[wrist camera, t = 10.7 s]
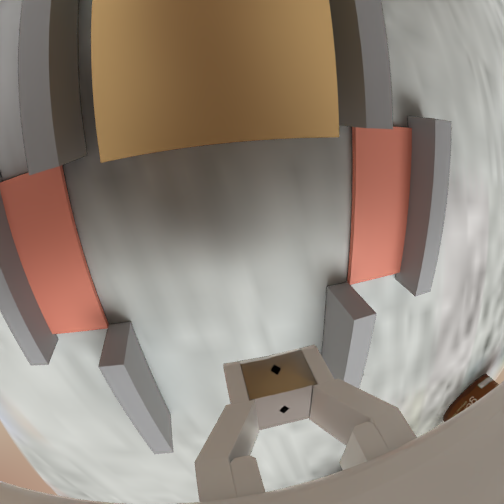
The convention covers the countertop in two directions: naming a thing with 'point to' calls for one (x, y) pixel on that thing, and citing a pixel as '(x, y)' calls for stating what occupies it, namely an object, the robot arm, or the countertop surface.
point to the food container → (470, 396)
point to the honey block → (210, 73)
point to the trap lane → (73, 147)
